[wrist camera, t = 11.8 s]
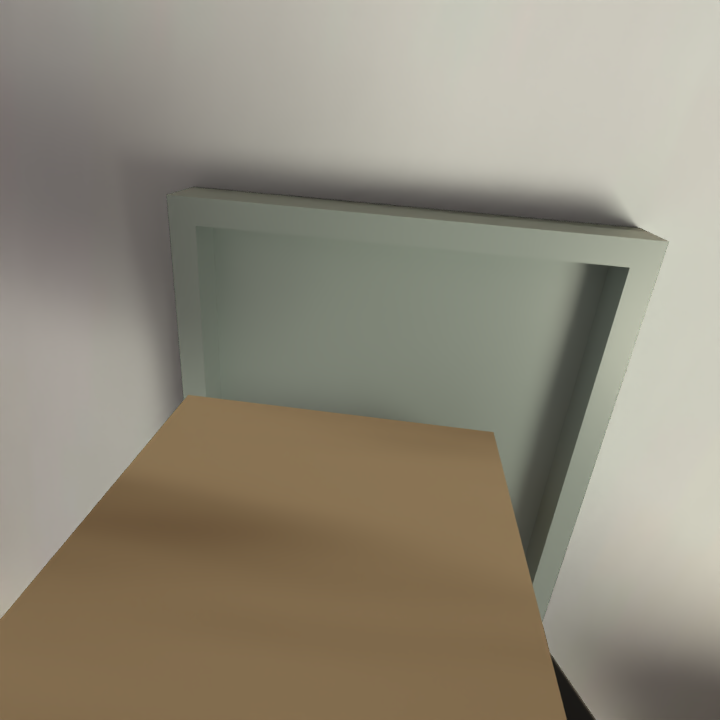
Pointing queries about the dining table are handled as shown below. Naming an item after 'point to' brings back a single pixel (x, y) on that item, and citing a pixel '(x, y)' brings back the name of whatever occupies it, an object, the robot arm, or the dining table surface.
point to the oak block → (287, 581)
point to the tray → (420, 328)
